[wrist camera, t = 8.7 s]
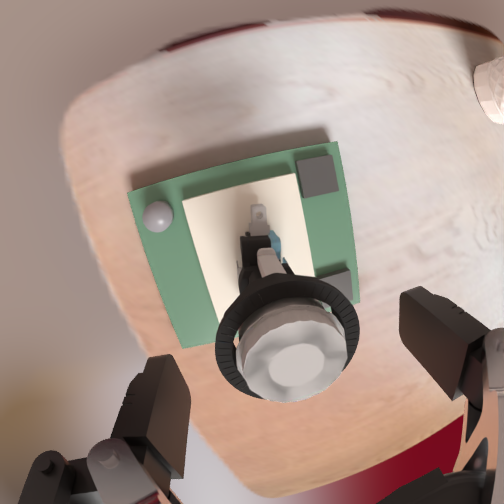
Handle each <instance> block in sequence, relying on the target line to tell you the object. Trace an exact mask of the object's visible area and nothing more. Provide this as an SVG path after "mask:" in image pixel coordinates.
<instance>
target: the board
mask: <svg viewBox="0 0 504 504" xmlns="http://www.w3.org/2000/svg"><path fill="white" fill-rule="evenodd" d="M127 194H128V198H129V201H130V205H131V208H132V212H133V215H134V218H135V222H136V225H137V228H138V231H139V235H140V238H141V241H142V244H143V247H144V250H145V253H146V256H147V259H148V262H149V265H150V267H151V270H152V273H153V276H154V279H155V281H156V284H157V287H158V289H159V292H160V295H161V297H162V300H163V303H164V305H165V308H166V310H167V313H168V315H169V318H170V320H171V323H172V325H173V327H174V330H175V332H176V334H177V337H178V339H179V341H180V344H181V346H182V348H183V349H184V348H189V347H194V346H199V345H204V344H209V343H213V342H215V339H216V333H217V330H218V326H219V324H220V322H221V320H222V318H223V316H224V313H225V311H226V310H227V309H228V308H229V307H230V305H231V304H232V303H233V302H234V301H235V300H236V298H237V297H238V296H239V295H240V293H239V286H238V278H237V265H236V261H238V267H242V257H241V248H240V236H245V232H249V223H251V207H250V206H251V205H252V204H263V205H264V206H265V207H266V215H267V225H270V230H273V231H274V232H275V233H276V235H277V236H278V237H279V238H280V241H281V263H283V261H282V259H283V257H285V259H286V261H287V262H288V265H289V266H290V268H291V269H292V271H293V272H294V274H295V275H303V276H312V277H316V278H318V279H319V280H322V281H324V282H327V283H329V284H331V285H332V286H334V287H335V288H337V289H338V290H339V291H341V292H342V293H343V294H344V295H345V296H346V298H347V299H348V300H349V301H350V302H351V304H352V305H354V304H357V303H360V293H359V281H358V270H357V260H356V251H355V243H354V235H353V227H352V220H351V213H350V207H349V200H348V194H347V188H346V183H345V177H344V172H343V167H342V161H341V156H340V152H339V147H338V142H337V141H336V142H329V143H323V144H317V145H311V146H306V147H300V148H295V149H290V150H285V151H280V152H275V153H270V154H265V155H261V156H256V157H252V158H247V159H243V160H239V161H235V162H231V163H227V164H223V165H219V166H215V167H211V168H207V169H203V170H200V171H196V172H193V173H189V174H185V175H182V176H179V177H175V178H172V179H168V180H165V181H162V182H159V183H156V184H152V185H149V186H146V187H143V188H140V189H137V190H134V191H131V192H128V193H127ZM260 214H261V212H257V213H256V216H259V215H260ZM319 302H320V303H321V305H322V306H323V307H324V309H325V310H326V311H328V312H332V311H331V307H330V306H329V305H328V304H326V303H324V302H322V301H319ZM236 337H239V334H238V331H237V333H236V335H235V338H236Z"/></svg>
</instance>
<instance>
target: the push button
mask: <svg viewBox="0 0 504 504" xmlns="http://www.w3.org/2000/svg"><path fill="white" fill-rule="evenodd" d="M250 207H251V223H249V232H245V236H240V248H241V257H242V267H238V261H236V265H237V278H238V286H239V293H240V295H239V296H238V297H237V298H236V300H235V301H234V302H233V303H232V304H231V305H230V307H229V308H228V309H227V310H226V311H225V313H224V316H223V318H222V320H221V322H220V324H219V326H218V330H217V333H216V339H215V355H216V361H217V364H218V367H219V369H220V371H221V373H222V375H223V376H224V377H225V379H226V380H227V381H228V382H229V383H230V384H231V385H232V386H234V387H235V388H236V389H238V390H239V391H241V392H243V393H245V394H247V395H250V396H252V397H256V398H260V399H266V400H269V401H277V402H282V403H287V402H297V401H300V400H306V399H308V398H310V397H312V396H314V395H317V394H319V393H321V392H322V391H324V390H326V389H327V388H328V387H329V386H330V385H331V384H332V383H333V382H334V381H335V380H336V379H337V378H338V377H339V376H340V374H341V372H342V371H343V370H344V369H345V368H346V366H347V365H348V364H349V362H350V360H351V359H352V357H353V355H354V353H355V351H356V348H357V345H358V341H359V334H360V327H359V320H358V316H357V313H356V311H355V309H354V307H353V305H352V304H351V302H350V301H349V300H348V299H347V298H346V296H345V295H344V294H343V293H342V292H341V291H339V290H338V289H337V288H335V287H334V286H332V285H331V284H329V283H327V282H324V281H322V280H319V279H318V278H316V277H312V276H303V275H295V274H294V272H293V271H292V269H291V268H290V266H289V265H288V262H287V261H286V259H285V257H283V259H282V261H283V263H281V241H280V238H279V237H278V236H277V235H276V233H275V232H274V231H273V230H270V225H267V215H266V207H265V206H264V205H263V204H252V205H251V206H250ZM257 212H261V214H260V215H259V216H256V213H257ZM319 301H322V302H324V303H326V304H328V305H329V306H330V307H331V311H332V313H330V312H328V311H326V310H325V309H324V307H323V306H322V305H321V303H320V302H319ZM237 331H238V334H239V344H238V346H237V349H236V347H235V345H234V343H233V341H234V338H235V335H236V333H237Z"/></svg>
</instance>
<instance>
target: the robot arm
mask: <svg viewBox="0 0 504 504" xmlns="http://www.w3.org/2000/svg"><path fill="white" fill-rule="evenodd" d="M399 334H400V337H401V340H402V342H403V344H404V345H405V347H406V348H407V349H408V350H409V351H410V352H411V353H412V354H413V356H414V357H415V358H416V359H417V360H418V361H419V362H420V364H421V365H422V366H423V367H424V368H425V369H426V370H427V372H428V373H429V374H430V375H431V376H432V377H433V379H434V380H435V381H436V382H437V383H438V385H439V386H440V387H441V388H442V389H443V391H444V392H445V393H446V394H447V395H448V397H449V398H450V399H451V400H452V401H453V400H455V399H457V398H458V397H460V396H461V395H463V394H464V395H465V396H466V397H467V398H466V401H465V405H464V420H463V432H462V440H461V448H460V452H459V456H458V458H457V461H456V463H455V466H454V469H453V472H452V473H447V474H444V475H443V474H442V472H441V470H440V469H439V467H438V468H436V469H435V470H433V471H431V472H429V473H427V474H426V475H424V476H422V477H420V478H418V479H416V480H414V481H412V482H410V483H408V484H406V485H403V486H401V487H399V488H398V489H397V490H395V491H394V492H393V493H391V494H390V495H388V496H387V497H385V498H384V499H382V500H381V501H379V502H378V503H376V504H504V328H497V329H494V330H490V329H488V328H487V327H486V326H484V325H483V324H482V323H481V322H479V321H478V320H477V319H475V318H474V317H473V316H471V315H470V314H468V313H467V312H464V310H463V309H462V308H460V307H459V306H458V307H457V305H456V304H455V303H453V302H452V301H450V300H449V299H448V298H445V297H442V296H439V295H436V294H434V295H433V294H432V293H430V292H429V291H428V290H426V289H425V288H423V287H422V286H418V287H415V288H413V289H410V290H407V291H405V292H402V293H401V295H400V308H399ZM122 404H123V406H121V408H120V411H119V414H118V417H117V420H116V422H115V425H114V428H113V431H112V434H111V437H110V438H109V439H105V440H102V441H100V442H98V443H97V444H96V445H94V446H93V447H92V449H91V450H90V451H89V453H88V456H87V457H86V458H81V459H76V460H71V461H67V460H66V459H65V458H64V457H63V456H62V455H61V454H60V453H59V452H57V451H52V450H50V451H46V452H44V453H42V454H40V455H39V456H38V457H37V458H36V459H35V461H34V462H33V464H32V467H31V469H30V472H29V474H28V477H27V480H26V482H25V485H24V488H23V491H22V494H21V496H20V500H19V502H18V504H183V503H182V502H181V500H180V499H179V498H178V497H177V496H176V494H175V493H174V492H173V491H172V490H171V489H170V481H171V479H183V476H184V466H185V455H186V444H187V434H188V425H189V416H190V408H191V395H190V391H189V388H188V386H187V384H186V382H185V380H184V378H183V376H182V374H181V372H180V370H179V368H178V366H177V364H176V362H175V360H174V358H173V356H172V355H171V354H167V355H161V356H155V357H149V358H148V360H147V363H146V366H145V369H144V371H143V373H138V374H137V376H136V377H135V378H134V379H133V380H132V381H131V383H130V384H129V387H128V389H127V392H126V397H124V400H123V403H122Z"/></svg>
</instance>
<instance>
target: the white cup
mask: <svg viewBox="0 0 504 504" xmlns="http://www.w3.org/2000/svg"><path fill="white" fill-rule="evenodd" d="M473 76H474V88H475V91H476V94H477V97H478V101H479V103H480V105H481V107H482V108H483V110H484V112H485V114H486V115H487V116H488V117H489V118H490V119H491V120H492V121H493V122H495V123H498V124H504V56H502V57H498V58H495V59H494V60H492V61H489V62H486V63H482V64H480V65H478V66H476V68H475V71H474V75H473Z"/></svg>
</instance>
